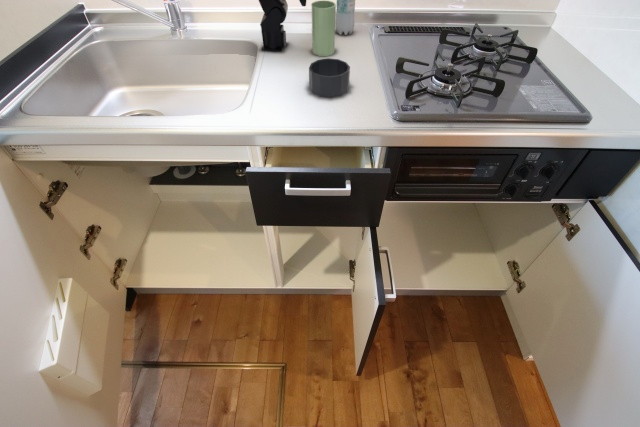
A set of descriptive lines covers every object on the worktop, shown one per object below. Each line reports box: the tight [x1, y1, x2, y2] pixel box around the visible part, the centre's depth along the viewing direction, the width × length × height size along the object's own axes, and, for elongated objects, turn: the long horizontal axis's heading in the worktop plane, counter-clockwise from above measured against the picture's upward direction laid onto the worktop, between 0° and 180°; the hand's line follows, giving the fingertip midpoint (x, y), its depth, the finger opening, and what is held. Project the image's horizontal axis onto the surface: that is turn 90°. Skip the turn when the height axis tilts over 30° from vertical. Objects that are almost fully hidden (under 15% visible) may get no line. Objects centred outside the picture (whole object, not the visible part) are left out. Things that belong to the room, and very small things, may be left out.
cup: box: [310, 0, 337, 57], centre depth 100 cm, size 7×7×13 cm
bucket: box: [308, 57, 351, 99], centre depth 88 cm, size 10×10×6 cm
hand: (307, 0), depth 97 cm, fingers open, 9 cm apart
